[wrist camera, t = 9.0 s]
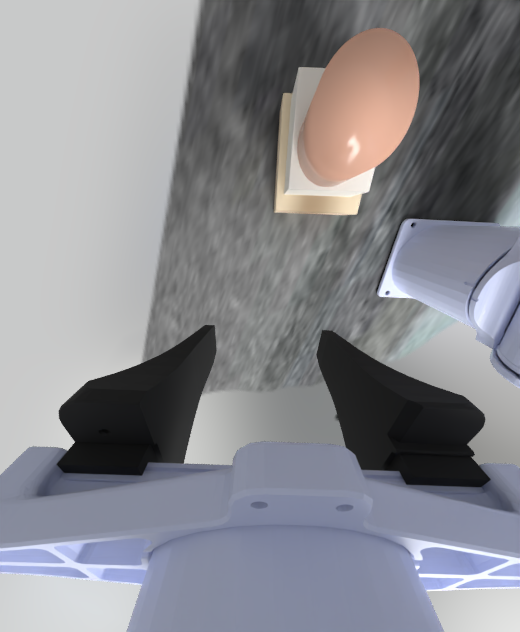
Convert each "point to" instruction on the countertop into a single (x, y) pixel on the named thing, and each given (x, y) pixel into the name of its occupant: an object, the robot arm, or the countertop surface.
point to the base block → (304, 202)
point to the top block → (298, 110)
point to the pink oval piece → (359, 108)
